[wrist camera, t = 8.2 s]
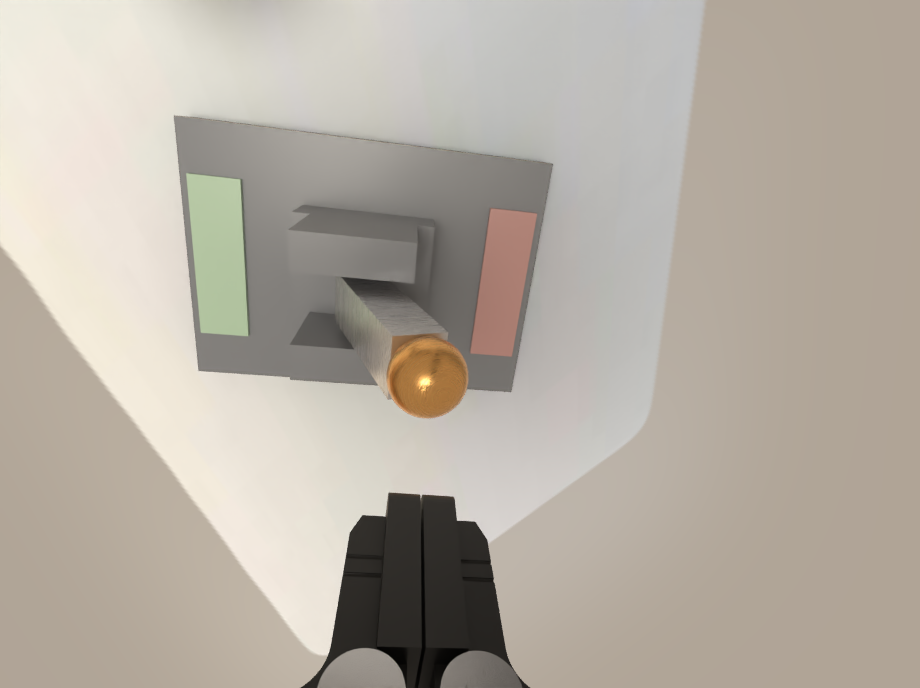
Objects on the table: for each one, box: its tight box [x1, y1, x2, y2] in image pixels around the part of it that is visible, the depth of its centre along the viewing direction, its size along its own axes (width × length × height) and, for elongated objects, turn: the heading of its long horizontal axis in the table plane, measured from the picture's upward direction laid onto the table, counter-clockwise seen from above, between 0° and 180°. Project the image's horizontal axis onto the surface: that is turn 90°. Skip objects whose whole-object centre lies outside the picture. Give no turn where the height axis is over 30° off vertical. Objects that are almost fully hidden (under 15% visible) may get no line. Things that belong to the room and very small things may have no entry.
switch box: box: [174, 116, 553, 392], centre depth 29 cm, size 16×22×10 cm
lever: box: [335, 276, 468, 418], centre depth 23 cm, size 3×3×13 cm
